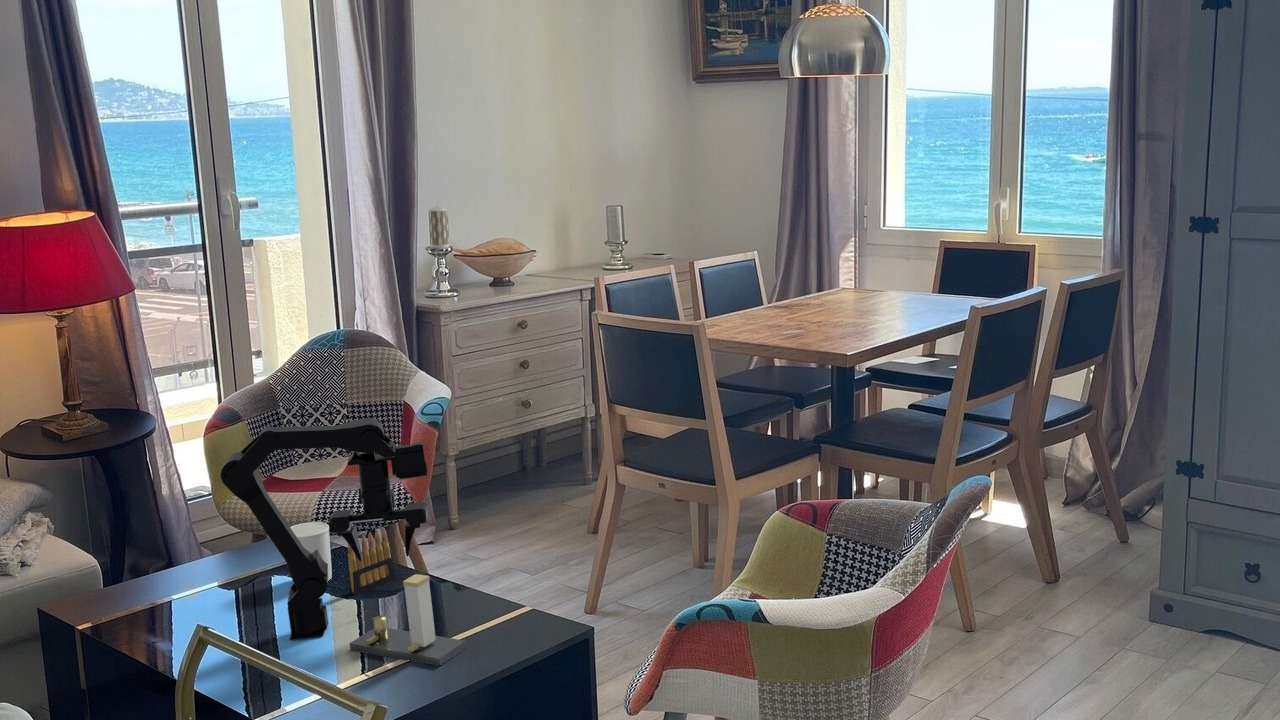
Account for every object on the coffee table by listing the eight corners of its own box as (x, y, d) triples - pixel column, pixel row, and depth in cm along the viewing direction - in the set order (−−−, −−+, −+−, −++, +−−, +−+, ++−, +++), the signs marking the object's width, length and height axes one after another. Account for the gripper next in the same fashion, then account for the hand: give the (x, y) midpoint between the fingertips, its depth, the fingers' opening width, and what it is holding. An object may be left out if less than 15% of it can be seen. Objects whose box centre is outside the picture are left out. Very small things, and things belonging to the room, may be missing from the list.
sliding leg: (403, 651, 219) (395, 585, 217) (422, 638, 224) (415, 574, 222) (417, 653, 218) (409, 587, 215) (436, 640, 223) (429, 575, 220)
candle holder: (328, 587, 258) (321, 535, 256) (284, 590, 259) (276, 538, 256) (340, 571, 268) (334, 520, 266) (297, 573, 268) (290, 523, 266)
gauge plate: (350, 650, 225) (346, 623, 224) (377, 633, 232) (374, 607, 231) (440, 666, 216) (437, 638, 215) (465, 648, 223) (462, 620, 222)
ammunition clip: (355, 595, 253) (348, 541, 251) (350, 593, 254) (343, 540, 252) (395, 578, 261) (389, 526, 259) (390, 576, 262) (384, 525, 260)
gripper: (426, 466, 242) (434, 539, 245) (333, 476, 240) (342, 549, 243) (421, 482, 231) (430, 558, 234) (324, 492, 229) (334, 568, 232)
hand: (384, 558), depth 236 cm, fingers open, 9 cm apart
